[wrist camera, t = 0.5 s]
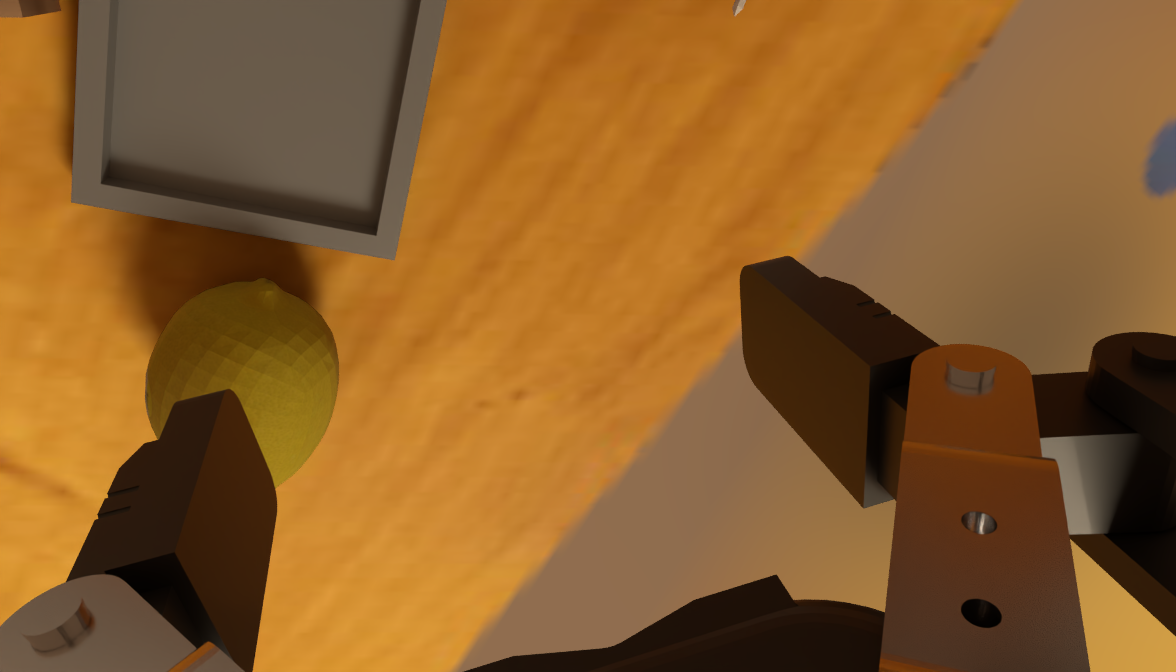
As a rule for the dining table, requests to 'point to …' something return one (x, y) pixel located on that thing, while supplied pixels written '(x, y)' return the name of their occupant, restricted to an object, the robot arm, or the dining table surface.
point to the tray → (255, 114)
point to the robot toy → (738, 6)
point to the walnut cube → (27, 7)
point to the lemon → (251, 366)
